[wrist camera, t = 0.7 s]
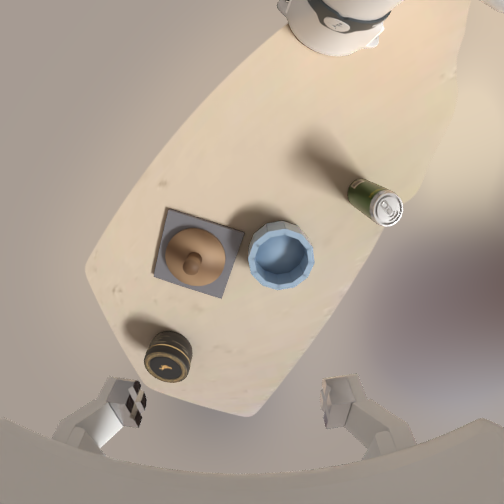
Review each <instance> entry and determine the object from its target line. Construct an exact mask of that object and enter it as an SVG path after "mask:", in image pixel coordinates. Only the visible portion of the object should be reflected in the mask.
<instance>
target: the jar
mask: <svg viewBox="0 0 504 504" xmlns="http://www.w3.org/2000/svg"><path fill="white" fill-rule="evenodd" d="M191 359H192V347H191V345H190V343H189V341H188V340H187V339H186V338H185V337H183V336H182V335H180V334H178V333H175V332H162V333H160V334H158V335H157V336H156V337H155V338H154V339H153V340H152V342H151V344H150V346H149V349H148V350H147V352H146V355H145V358H144V364H145V367H146V369H147V371H148V372H149V373H150V374H151V375H152V376H154V377H155V378H157V379H159V380H161V381H164V382H170V383H176V382H180V381H182V380H184V379H185V378H186V377H187V375H188V372H189V369H190V363H191Z"/></svg>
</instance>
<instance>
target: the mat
mask: <svg viewBox="0 0 504 504" xmlns="http://www.w3.org/2000/svg"><path fill="white" fill-rule="evenodd" d="M188 228H200V229H204V230H206V231H209V232H210V233H212V234H213V235H215V236H216V237H217V238H218V239H219V241H220V242H221V244H222V245H223V247H224V250H225V257H226V259H225V265H224V269H223V271H222V273H221V275H220V276H219V277H218V278H217V279H216V280H215V281H214V282H212V283H210V284H207V285H204V286H191V285H188V284H185V283H183V282H181V281H179V280H178V279H177V278H175V277H174V276H173V274H172V273H171V272H170V270H169V269H168V266H167V264H166V259H165V252H166V248H167V245H168V243H169V242H170V240H171V239H172V238H173V237H174V235H176V234H177V233H178V232H180V231H182V230H184V229H188ZM243 236H244V232H241V231H238V230H235V229H232V228H229V227H226V226H223V225H220V224H217V223H214V222H210V221H207V220H204V219H201V218H198V217H195V216H192V215H188V214H185V213H182V212H179V211H176V210H173V209H169V210H168V214H167V218H166V222H165V226H164V230H163V235H162V239H161V244H160V248H159V253H158V258H157V262H156V267H155V272H154V277H156V278H159V279H162V280H165V281H168V282H171V283H174V284H177V285H180V286H183V287H186V288H189V289H192V290H195V291H198V292H202V293H205V294H208V295H211V296H214V297H218V298H221V299H222V296H223V293H224V290H225V287H226V284H227V281H228V278H229V276H230V273H231V270H232V267H233V264H234V261H235V258H236V256H237V253H238V250H239V247H240V244H241V241H242V239H243Z"/></svg>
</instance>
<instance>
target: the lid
mask: <svg viewBox="0 0 504 504" xmlns="http://www.w3.org/2000/svg"><path fill="white" fill-rule="evenodd" d="M165 259H166V264H167V266H168V269H169V270H170V272H171V273H172V274H173V276H174V277H175V278H177V279H178V280H179V281H181V282H183V283H185V284H188V285H191V286H204V285H207V284H210V283H212V282H214V281H215V280H216V279H217V278H218V277H219V276H220V275H221V273H222V271H223V269H224V265H225V259H226V257H225V250H224V247H223V245H222V244H221V242H220V241H219V239H218V238H217V237H216V236H215V235H213V234H212V233H210V232H209V231H206V230H204V229H200V228H188V229H184V230H182V231H180V232H178V233H177V234H176V235H174V237H173V238H172V239H171V240H170V242H169V243H168V245H167V248H166V252H165Z"/></svg>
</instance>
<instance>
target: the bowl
mask: <svg viewBox="0 0 504 504" xmlns="http://www.w3.org/2000/svg"><path fill="white" fill-rule="evenodd" d="M248 261H249V266H250V271H251V274H252V275H253V276H254V277H255V278H256V279H257V280H258V281H259V283H260V284H261V285H263V286H266V287H269V288H273V289H276V290H282V289H287V288H293V287H295V286H297V285H298V284H299V283H301V282H302V281H304V280H305V279H306V278H307V277H308V276H309V274H310V271H311V269H312V267H313V265H314V254H313V247H312V245H311V243H310V241H309V239H308V237H307V236H306V235H305V234H304V233H303V231H302V230H301V229H300V228H299V227H298V226H297V225H294V224H291V223H288V222H285V221H278V222H273V223H267V224H265V225H264V226H263V227H262V228H260V229H259V230H258V231H257V232H255V233H254V234H253V237H252V240H251V243H250V245H249V248H248Z"/></svg>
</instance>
